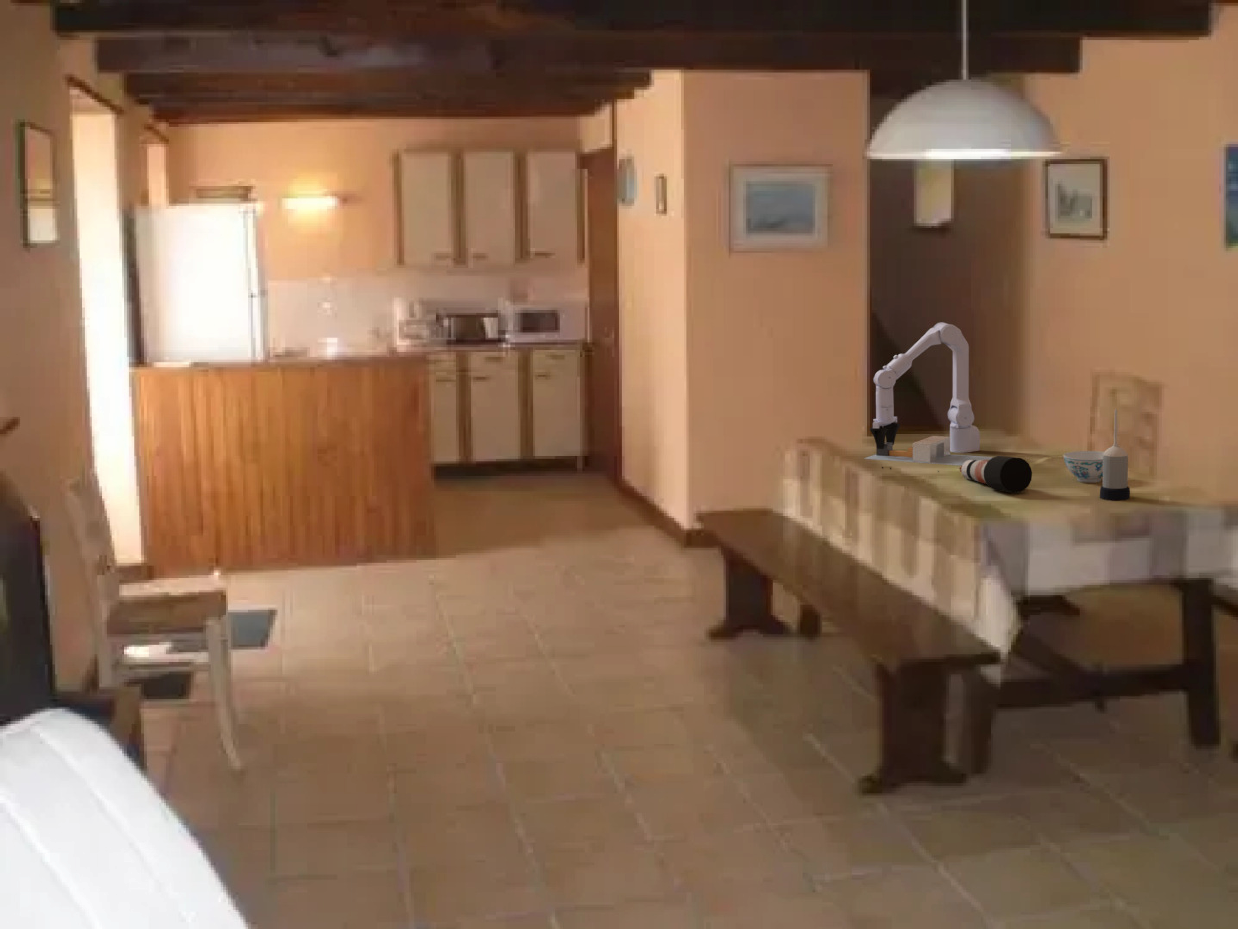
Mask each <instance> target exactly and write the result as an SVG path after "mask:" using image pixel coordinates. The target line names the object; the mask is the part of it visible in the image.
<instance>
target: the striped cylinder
mask: <svg viewBox="0 0 1238 929" xmlns="http://www.w3.org/2000/svg"><path fill="white" fill-rule="evenodd" d="M992 457H993V458H992V459H990V460H968V461H966V462H964V464H963V465H961V466H959V472H961V475H962V476H963V477H964V479H966V480H970V481H973V482H980V483H982V484H985V485H987V486H988V487H989V488H991V490H994V491H1000V492H1007V493H1013V494H1015V493H1021V492H1023V491H1026V489H1027V488H1028V487H1029V485H1030V484H1031V482H1032V476H1033V471H1032V468H1031V465H1030V463H1029V462H1028V461H1027V460H1026V459H1024V458H1022V457H1014V456H1013V457H1012V456H1004V455H1003V456H1002V455H997V456H992Z"/></svg>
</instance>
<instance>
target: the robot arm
mask: <svg viewBox="0 0 1238 929" xmlns="http://www.w3.org/2000/svg"><path fill="white" fill-rule="evenodd" d="M941 344H944V345H946V346H947V348H949V349H950V350H951V351H952V398H951V401H950V406H949V409H948V410H947V419H948V421H950V424H949V437H950V453H957V454H959V453H961V454H962V453H964V454H965V453H971V452H977V451H980V450H981V447H980V446H981V445H980V444H981V442H980V440H981V439H980V437H981V435H980V430H979V428H978V427H977V426H976V425H973V423H974V421H975V415H974V412H973V410H972V409H973V408H972V403H971V401H970V398H969V396H970V394H969V392H970V391H969V389H970V388H969V387H970V386H969V384H970V383H969V382H970V381H969V379H970V376H969V374H970V368H969V367H970V363H969V362H970V360H969V358H970V356H969V355H970V352H969V351H970V346H969V343H968V341H967V340H966V338H965V337H964V334H963V333H962V330H961V329H960V328H958V327H957V326H956V325H954V324H951V323H950V324H949V323H946V322H943V321H941V322H937V323H936V324H935V325H934V326H933V327H931V328H929V329H928V330H927V331H926V332H925V334H923V336H921V337H920V339H919V340H918V341H917V342H915V343H914V344H913V345H912V346H911V347H910V348H909V349H908V350H907V351H906V352H905V353H899V354H898V355H897V354H895V355H894V356H893V359H892V360H891V361H889V363H887V364H886V365H883V366H882V369H879V370H878V371H877V372H876V373H875V374H874V376H873V378H872V379H873V383H874V384H875V418H873V419H872V420H873V422H872V427H870V428H869V430H870V432H871V433H872V436H873V439H874V441H875V445H876V446H877V449H884V444H885V442H893V446H894V445H895V441H896V437H897V432H898V430H899V428H900V426H901V424H900V423H898V416H894V415H895V414H894V413H895V411H894V409H895V408H894V387H895V384H896V383H897V382H896V381H897V380H898V379H899V378H900V377H901V376H903V375H904V374H905V373H906V372H907V371H908V370H909V369H910V368H911V367H912V365H913V360H914V359H916V358H917V357H919V356H920V355H921V354H922V353H924V352H925V351H926V350H927V349H929V348H930V347H931V346H937V345H941ZM876 446H875V447H876Z"/></svg>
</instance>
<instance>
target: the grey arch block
mask: <svg viewBox="0 0 1238 929" xmlns="http://www.w3.org/2000/svg"><path fill="white" fill-rule="evenodd" d="M912 447H913V461H914V462H913V463H917V462H928V463H927V464H931V463H930V462H933V461H936V457H946V456H949V455H950V454H951V451H950V436H943V435H942V436H941V435H931V436H929V437H927V438H924V439H921V440H918V441H915V442H912Z"/></svg>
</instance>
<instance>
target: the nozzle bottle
mask: <svg viewBox="0 0 1238 929" xmlns="http://www.w3.org/2000/svg"><path fill="white" fill-rule="evenodd" d="M1113 424H1114V429H1113V430H1114V431H1113V445H1112V446H1110V447H1109V448H1107V449H1106V450H1105V451H1103V452H1104V454H1103V477H1102V485H1101V487H1100V488H1099V498H1100V499H1101V500H1104V501H1115V502H1116V501H1127V500H1130V498H1131V488H1130V487H1129V486H1128V482H1129V481H1128V479H1129V478H1128V476H1129V471H1128V470H1129V456H1128V455H1129V454H1128V453H1127V451H1126V450H1125V449H1124V447H1121V446H1119V442H1120V438H1119V437H1120V433H1118V431H1119V429H1120V427H1119V426H1120V425H1119V424H1120V422H1118V409H1114V421H1113Z"/></svg>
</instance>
